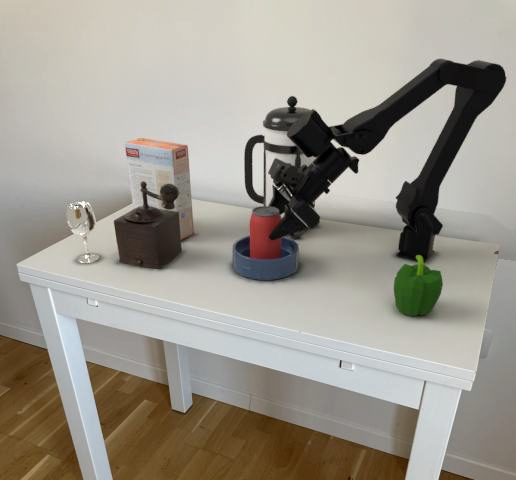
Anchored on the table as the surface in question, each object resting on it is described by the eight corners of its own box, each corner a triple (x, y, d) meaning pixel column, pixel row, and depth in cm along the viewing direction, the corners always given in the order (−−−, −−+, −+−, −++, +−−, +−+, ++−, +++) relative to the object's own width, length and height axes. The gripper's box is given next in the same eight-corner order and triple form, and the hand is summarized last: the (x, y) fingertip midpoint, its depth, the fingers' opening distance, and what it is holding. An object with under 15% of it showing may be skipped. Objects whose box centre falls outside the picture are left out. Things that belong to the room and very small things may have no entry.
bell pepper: (433, 325, 94) (444, 274, 89) (386, 316, 97) (394, 265, 92) (439, 304, 101) (449, 254, 95) (395, 296, 104) (403, 247, 98)
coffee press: (310, 214, 141) (317, 89, 125) (325, 238, 128) (334, 101, 111) (244, 218, 139) (242, 91, 123) (252, 242, 126) (251, 103, 109)
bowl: (309, 263, 116) (310, 243, 114) (274, 287, 107) (274, 266, 104) (257, 248, 123) (257, 229, 120) (219, 269, 113) (219, 250, 111)
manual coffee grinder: (116, 263, 116) (102, 179, 106) (143, 244, 125) (133, 165, 115) (180, 275, 111) (172, 188, 101) (203, 254, 120) (198, 173, 110)
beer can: (278, 273, 111) (279, 217, 105) (247, 270, 113) (246, 215, 106) (283, 260, 117) (284, 206, 110) (253, 257, 118) (253, 204, 111)
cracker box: (195, 234, 130) (189, 144, 119) (179, 242, 126) (171, 149, 114) (151, 222, 136) (141, 136, 125) (135, 230, 132) (123, 141, 121)
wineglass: (107, 256, 119) (98, 203, 113) (90, 266, 115) (80, 211, 108) (87, 251, 121) (77, 199, 115) (69, 261, 117) (58, 207, 110)
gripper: (284, 133, 110) (231, 190, 114) (306, 157, 94) (245, 221, 99) (318, 171, 115) (267, 223, 120) (345, 199, 100) (285, 258, 104)
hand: (265, 230), depth 110 cm, fingers open, 9 cm apart
